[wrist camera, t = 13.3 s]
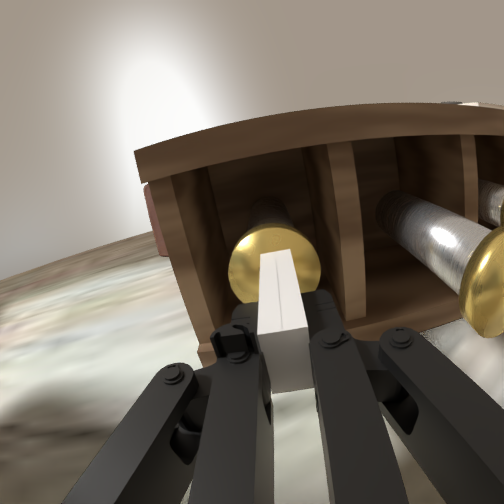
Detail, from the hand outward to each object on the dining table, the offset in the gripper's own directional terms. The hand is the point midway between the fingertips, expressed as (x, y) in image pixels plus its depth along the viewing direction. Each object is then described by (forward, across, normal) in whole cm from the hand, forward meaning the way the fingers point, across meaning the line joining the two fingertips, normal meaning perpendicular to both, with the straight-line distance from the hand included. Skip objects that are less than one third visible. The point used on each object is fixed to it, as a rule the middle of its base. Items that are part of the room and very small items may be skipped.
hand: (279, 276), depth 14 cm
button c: (+7, 0, -2) cm, 7 cm away
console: (+9, +10, -8) cm, 16 cm away
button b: (+1, +10, -2) cm, 10 cm away
